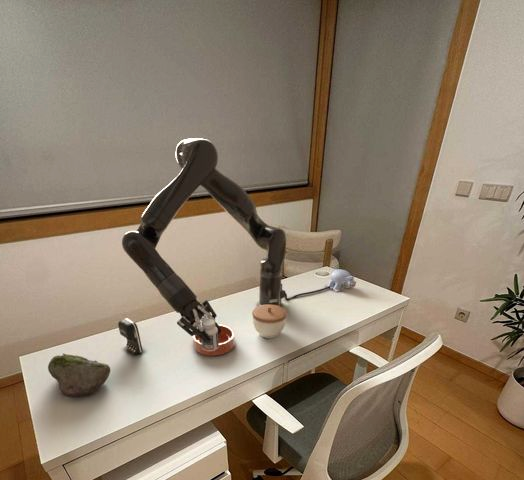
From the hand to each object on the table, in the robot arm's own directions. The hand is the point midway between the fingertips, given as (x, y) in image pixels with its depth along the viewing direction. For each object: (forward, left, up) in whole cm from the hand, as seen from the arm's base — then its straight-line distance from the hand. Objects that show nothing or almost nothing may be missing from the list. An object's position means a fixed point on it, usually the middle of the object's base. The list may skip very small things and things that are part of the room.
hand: (214, 337), depth 96 cm
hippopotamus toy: (-86, -8, -12) cm, 88 cm away
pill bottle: (+1, -2, -4) cm, 5 cm away
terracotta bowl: (-8, -12, -12) cm, 19 cm away
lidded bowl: (-28, -4, -12) cm, 31 cm away
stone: (+32, -23, -12) cm, 42 cm away
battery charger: (+14, -29, -12) cm, 34 cm away
